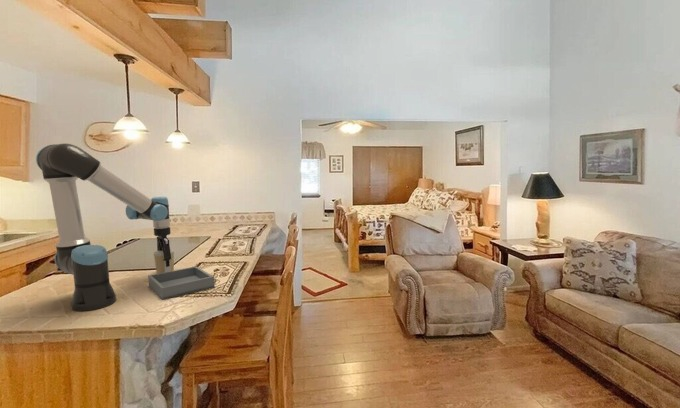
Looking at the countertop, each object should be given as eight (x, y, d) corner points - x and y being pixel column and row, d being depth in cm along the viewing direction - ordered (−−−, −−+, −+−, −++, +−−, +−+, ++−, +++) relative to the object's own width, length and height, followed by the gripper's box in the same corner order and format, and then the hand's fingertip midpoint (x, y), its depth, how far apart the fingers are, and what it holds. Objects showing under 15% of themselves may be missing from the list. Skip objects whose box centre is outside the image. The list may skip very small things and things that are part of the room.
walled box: (162, 299, 150) (161, 288, 149) (148, 286, 167) (147, 275, 167) (214, 287, 164) (213, 276, 163) (196, 275, 182) (196, 266, 181)
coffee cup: (179, 271, 189) (177, 249, 188) (168, 277, 180) (167, 253, 179) (162, 271, 190) (160, 249, 189) (151, 276, 181) (149, 253, 180)
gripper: (176, 228, 177) (179, 273, 179) (163, 223, 193) (167, 264, 196) (159, 231, 172) (163, 276, 175) (148, 225, 188) (151, 267, 191)
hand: (165, 270), depth 185 cm, fingers closed on coffee cup, 9 cm apart
